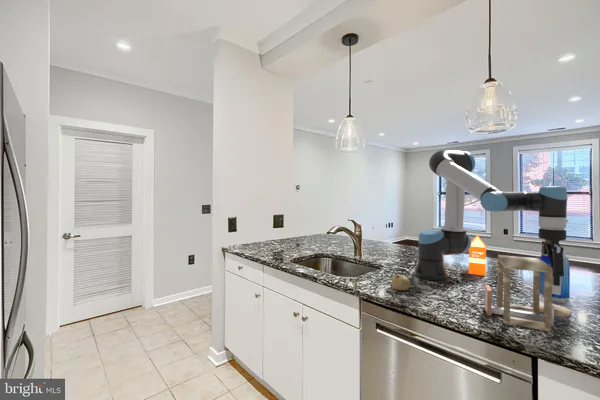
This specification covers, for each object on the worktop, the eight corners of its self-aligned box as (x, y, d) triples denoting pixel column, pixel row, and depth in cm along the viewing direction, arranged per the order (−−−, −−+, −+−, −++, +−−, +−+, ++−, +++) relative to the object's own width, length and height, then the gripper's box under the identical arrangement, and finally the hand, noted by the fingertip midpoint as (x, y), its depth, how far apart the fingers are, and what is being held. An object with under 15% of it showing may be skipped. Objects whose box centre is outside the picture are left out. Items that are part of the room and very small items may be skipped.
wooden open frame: (504, 323, 92) (505, 263, 92) (497, 307, 105) (497, 254, 104) (551, 331, 87) (552, 268, 86) (537, 313, 99) (539, 258, 98)
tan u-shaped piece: (487, 315, 97) (487, 290, 97) (484, 307, 104) (485, 284, 103) (554, 326, 89) (555, 299, 89) (547, 317, 95) (547, 292, 95)
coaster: (535, 313, 100) (535, 310, 100) (527, 302, 110) (527, 300, 110) (576, 319, 95) (576, 317, 95) (564, 307, 104) (564, 305, 104)
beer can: (532, 294, 105) (532, 252, 105) (552, 293, 106) (553, 251, 106) (554, 302, 97) (554, 257, 97) (576, 301, 98) (576, 256, 97)
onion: (396, 285, 130) (396, 270, 130) (413, 289, 124) (413, 273, 124) (388, 289, 124) (388, 274, 124) (405, 294, 119) (405, 277, 118)
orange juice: (485, 271, 152) (486, 235, 151) (485, 275, 144) (486, 237, 143) (468, 269, 156) (469, 233, 155) (468, 273, 148) (468, 236, 148)
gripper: (578, 232, 90) (576, 301, 91) (555, 225, 109) (554, 283, 109) (548, 231, 94) (547, 298, 94) (531, 224, 112) (530, 280, 113)
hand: (550, 289), depth 102 cm, fingers closed on beer can, 8 cm apart
